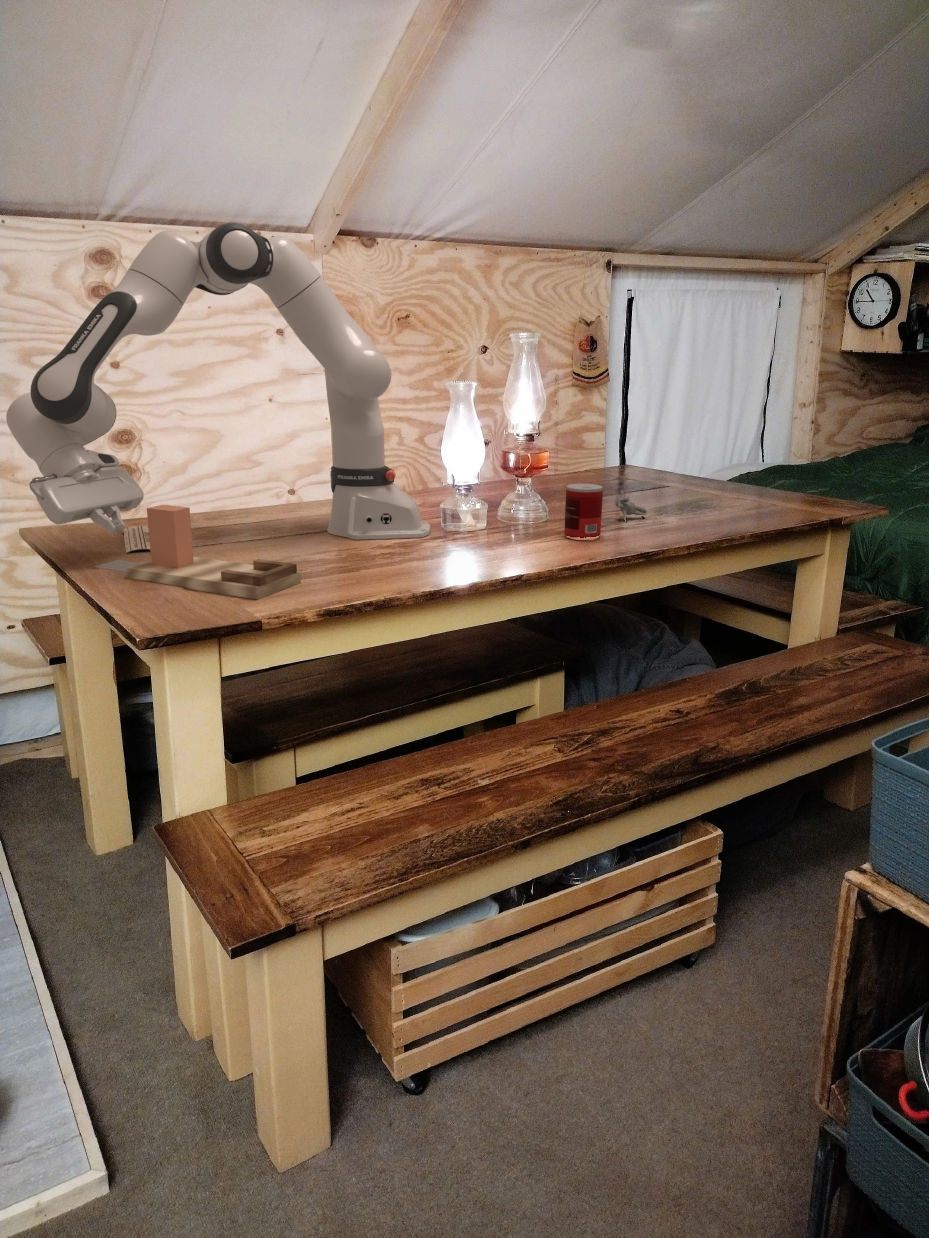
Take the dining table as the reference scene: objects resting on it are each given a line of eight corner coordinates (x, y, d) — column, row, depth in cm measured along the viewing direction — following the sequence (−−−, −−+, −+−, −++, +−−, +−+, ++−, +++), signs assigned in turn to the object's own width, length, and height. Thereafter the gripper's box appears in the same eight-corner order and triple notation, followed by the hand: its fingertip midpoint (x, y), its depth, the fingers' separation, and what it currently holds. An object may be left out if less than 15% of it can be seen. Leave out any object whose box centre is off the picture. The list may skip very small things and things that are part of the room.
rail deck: (126, 579, 161) (124, 559, 160) (175, 564, 171) (173, 546, 170) (257, 599, 149) (256, 578, 148) (300, 582, 160) (299, 563, 159)
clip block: (151, 564, 163) (146, 508, 160) (167, 559, 166) (162, 504, 163) (178, 568, 160) (173, 511, 157) (193, 563, 164) (189, 507, 161)
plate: (93, 568, 168) (93, 566, 167) (118, 561, 173) (118, 560, 173) (126, 573, 164) (126, 571, 164) (150, 566, 170) (150, 564, 169)
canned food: (604, 535, 200) (607, 485, 197) (593, 542, 194) (596, 490, 190) (571, 532, 204) (573, 482, 200) (559, 539, 197) (561, 487, 193)
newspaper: (123, 534, 199) (122, 526, 199) (157, 532, 202) (157, 524, 201) (126, 558, 178) (125, 549, 178) (164, 556, 181) (163, 547, 180)
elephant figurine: (656, 523, 215) (624, 511, 212) (640, 538, 220) (609, 526, 216) (651, 491, 221) (620, 479, 217) (636, 506, 225) (606, 494, 222)
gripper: (31, 467, 157) (80, 529, 156) (121, 454, 175) (166, 510, 174) (16, 491, 160) (64, 552, 159) (106, 476, 178) (150, 531, 177)
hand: (118, 530), depth 167 cm, fingers closed
